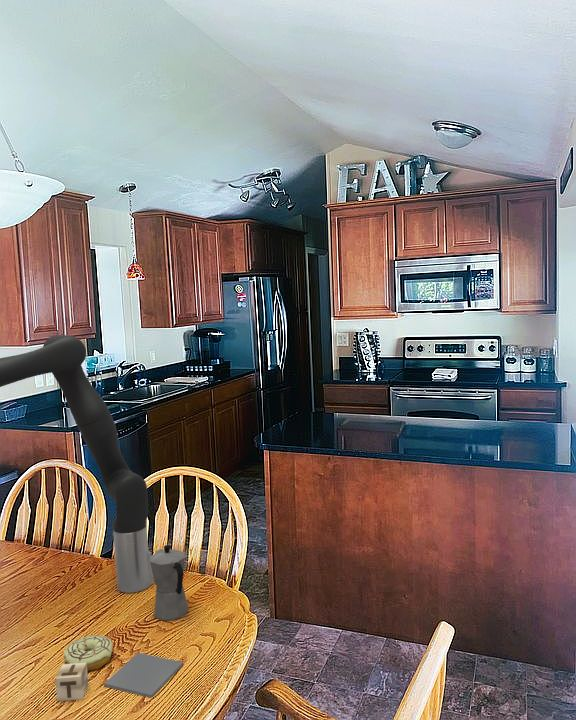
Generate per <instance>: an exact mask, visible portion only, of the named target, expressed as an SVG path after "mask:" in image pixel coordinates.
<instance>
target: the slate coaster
mask: <svg viewBox="0 0 576 720" xmlns="http://www.w3.org/2000/svg"><path fill="white" fill-rule="evenodd" d="M183 666H184V662H183V661H178V660H175V659H169V658H164V657H159V656H156V655H151V654H147V653H141V652H137V653H136V654H135V655H134V656H133V657H132V658H130V659H129V660H128V661H127V662H126V663H125V664H124V665H123V666H122V667H120V669H118V670H117V671H116V672H114V674H113V675H112V676H110V677H109V678H108V679H107V680H106V681H105V682H104V683H103V686H104V687H106V688H111V689H113V690H114V689H115V690H119V691H123V692H127V693H131V694H134V695H135V694H136V695H139V696H144V697H147V698H151V699H152V698H153V697H154V696H155V695H156V694H157V693H158V692H159V691H160V690H161V689H162V687H164V685H165V684H166V683H167V682H168V681H170V679H171V678H172V677H173V676H174V675H175V674H177V672H178V671H179V669H181V668H182V667H183Z"/></svg>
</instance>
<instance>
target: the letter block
mask: <svg viewBox="0 0 576 720" xmlns="http://www.w3.org/2000/svg"><path fill="white" fill-rule="evenodd" d="M88 676H89V675H88V671H87V663H74V664H67V663H64V664H63V663H62V665H61V666H60V669H59V671H58V673H57V675H56V677H55V679H54V680H55V690H56V700H57V702H64V701H65V702H67V701H76V700H83V699H84V696H85V693H86V691H87V689H88V686H89V677H88Z"/></svg>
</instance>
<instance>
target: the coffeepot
mask: <svg viewBox="0 0 576 720" xmlns="http://www.w3.org/2000/svg"><path fill="white" fill-rule="evenodd" d="M170 547H171V546H170V545H169V544H166V545H164V546H163V548H160V549H159V550H157V549H156V550H155V553H153V554H151V556H150V564H151V568H152V573H153V583H154V585H155V587H156V588H155V598H154V599H155V601H154V615H153V617H154V618H155V619H157V620H159V621H163V622H164V621H169V622H170V621H174V620H179V619H181V618H183V617H184V616H186V615H187V614H188V613H189V606H188V601H187V597H186V593H185V588H184V585H183V583H184V574H185V572H184V570H185V559H186V557H185V551H183V550H178V549H175V548H174V549H170Z"/></svg>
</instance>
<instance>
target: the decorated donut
mask: <svg viewBox="0 0 576 720" xmlns="http://www.w3.org/2000/svg"><path fill="white" fill-rule="evenodd" d="M113 646H114V645H113V642H112V640H111V639H110V638H109V637H107V636H105V635H99V634H97V635H95V634H93V635H87V636H86V635H85V636H84V637H80V638H78V639H76V640H74V641H72V642H71V643H69V644H68V645H67V647H66V648H65V650H64V652H63V658H64V661H65V662H66V663H65V664H74V663H87V672H90V671H91V672H92V671H94V670H97V669H98V670H99V669H101V668H102V667H103V666H104V665H106V664H107V663H108V662H110V660H111V658H112V657H111V656H112V654H113V649H114V648H113Z"/></svg>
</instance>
